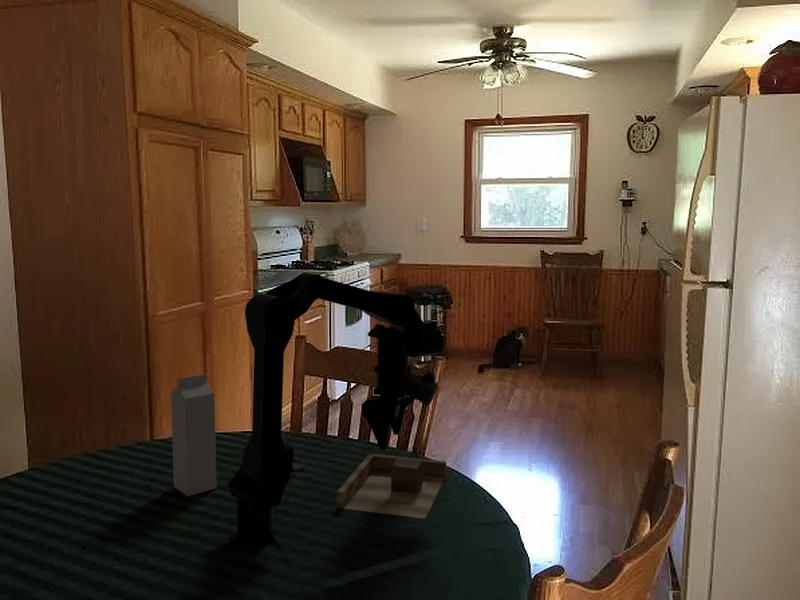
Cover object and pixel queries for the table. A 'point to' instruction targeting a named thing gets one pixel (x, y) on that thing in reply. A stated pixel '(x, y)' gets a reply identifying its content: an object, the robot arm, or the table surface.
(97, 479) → the table surface
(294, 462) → the pocket watch
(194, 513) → the table surface
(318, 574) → the table surface
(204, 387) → the milk
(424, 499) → the board
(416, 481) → the walnut block
